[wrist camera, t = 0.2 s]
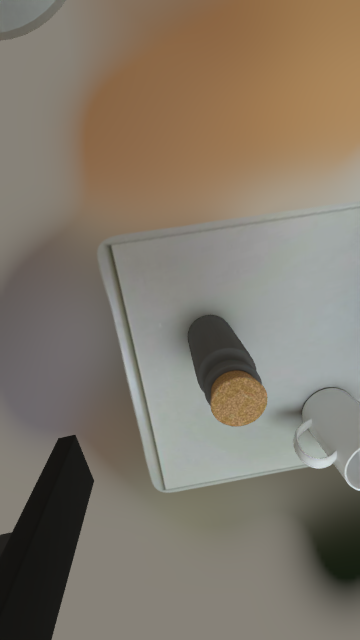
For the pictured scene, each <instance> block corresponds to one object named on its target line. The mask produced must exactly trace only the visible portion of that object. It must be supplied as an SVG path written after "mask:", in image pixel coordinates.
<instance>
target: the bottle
mask: <svg viewBox="0 0 360 640" xmlns="http://www.w3.org/2000/svg"><path fill="white" fill-rule="evenodd" d="M188 342H189V347H190V351H191V356H192V360H193V364H194V368H195V372H196V376H197V380H198V383H199V386H200V388H201V389H202V391H203V392H204V393H205V397H206V399H207V402H208V403H209V405H210V406H211V410H212V413H213V415H214V416H215V418H216V419H217V420H219V421H220V422H222V423H223V424H226V425H229V426H243V425H247V424H249V423H251V422H253V421H255V420H256V419H258V418H259V417H260V416H261V414H262V413H263V412H264V410H265V408H266V405H267V393H266V390H265V388H264V387H263V385H262V382H261V379H260V377H259V375H258V373H257V372H256V366H255V363H254V361H253V359H252V358H251V356H250V354H249V353H248V351H247V350H246V349H245V347H244V346H243V344H242V343H241V341H240V340H239V338H238V337H237V336H236V334H235V333H234V331H233V330H232V329H231V327H230V326H229V325H228V323H227V322H226V321H225V320H224V319H222V318H220V317H218V316H214V315H207V316H203V317H201V318H199V319H197V320H196V321H195V322H194V323H193V324H192V325H191V327H190V329H189V332H188Z"/></svg>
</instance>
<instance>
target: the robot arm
mask: <svg viewBox="0 0 360 640" xmlns="http://www.w3.org/2000/svg"><path fill="white" fill-rule="evenodd" d="M93 483H94V479H93V477H92V475H91V472H90V470H89V467H88V465H87V462H86V460H85V458H84V455H83V452H82V450H81V448H80V445H79V443H78V440H77V438H76V435H72V436H67V437H63V438H58V441H57V443H56V445H55V447H54V449H53V451H52V453H51V455H50V457H49V459H48V461H47V463H46V465H45V467H44V469H43V471H42V473H41V475H40V477H39V479H38V482H37V483H36V485H35V487H34V489H33V491H32V493H31V495H30V497H29V500H28V501H27V503H26V505H25V508H24V509H23V512H22V514H21V516H20V518H19V520H18V522H17V524H16V526H15V528H14V530H13V532H12V533H7V534H2V535H0V640H51V639H52V635H53V631H54V628H55V624H56V620H57V616H58V613H59V609H60V605H61V602H62V598H63V594H64V590H65V587H66V583H67V579H68V576H69V572H70V568H71V565H72V561H73V557H74V553H75V549H76V546H77V542H78V538H79V535H80V531H81V527H82V524H83V520H84V516H85V512H86V509H87V505H88V501H89V498H90V494H91V490H92V486H93Z"/></svg>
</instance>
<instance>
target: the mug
mask: <svg viewBox="0 0 360 640" xmlns="http://www.w3.org/2000/svg"><path fill="white" fill-rule="evenodd" d="M302 419H303V422H304V423H303V424H302V425H300V426H299V427H298V429H297V430H296V432H295V435H294V439H293V443H294V449H295V452H296V454H297V455H298V457H299V458H300V460H301V461H302V462H303V463H305V464H306V465H308V466H310V467H312V468H318V469H319V468H325V467H328V466H330V465H331V464H332V463H333V464H334V465H335V466H336V468H337V469H338V471H339V472H340V473H341V475H342V476H343V477H344V479H345V480H346V481H347V483H348V484H349V485H350V486H351V487H353V488H354V489H356V490H359V491H360V403H359V402H357V401H356V400H355V399H354V398H353V397H352V396H351V395H350V394H348V393H347V392H346V391H344V390H341V389H338V388H328V389H323V390H321V391H318V392H317V393H315V394H313V395H312V396H311V397H310V398H309V399H308V400H307V401H306V403H305V405H304V407H303V410H302ZM307 429H309V431H310V432H311V434H312V435H313V436H314V438H315V439H316V440H317V442H318V443H319V445H320V446H321V447H322V449H323V450H324V451H325V453H326V454H327V455H328V457H325V458H319V459H318V458H313V457H311V456H309V455H307V454H306V453H305V452H304V451H303V450H302V448H301V447H300V444H299V437H300V436H301V434H302V433H303V432H304V431H305V430H307Z"/></svg>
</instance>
